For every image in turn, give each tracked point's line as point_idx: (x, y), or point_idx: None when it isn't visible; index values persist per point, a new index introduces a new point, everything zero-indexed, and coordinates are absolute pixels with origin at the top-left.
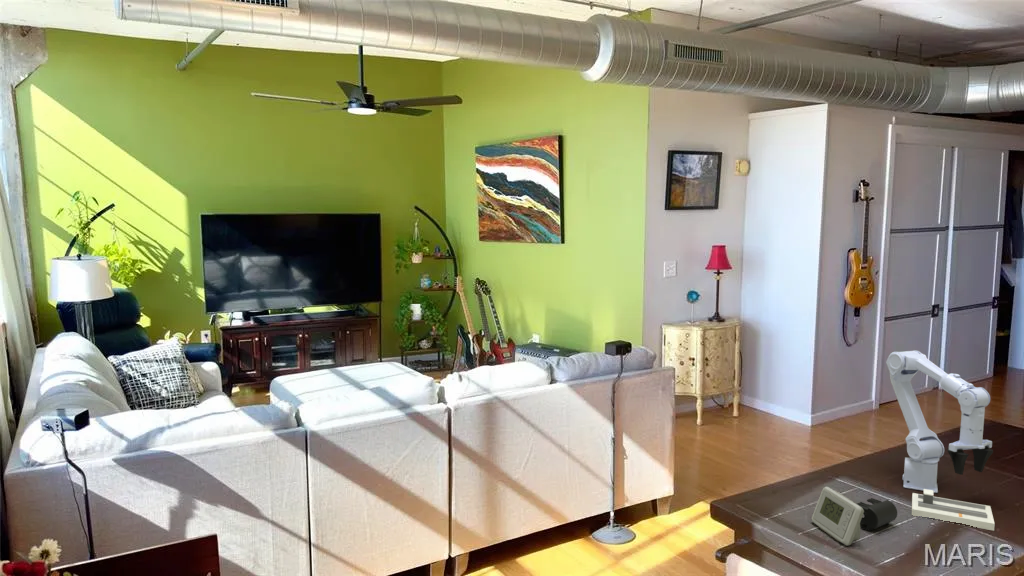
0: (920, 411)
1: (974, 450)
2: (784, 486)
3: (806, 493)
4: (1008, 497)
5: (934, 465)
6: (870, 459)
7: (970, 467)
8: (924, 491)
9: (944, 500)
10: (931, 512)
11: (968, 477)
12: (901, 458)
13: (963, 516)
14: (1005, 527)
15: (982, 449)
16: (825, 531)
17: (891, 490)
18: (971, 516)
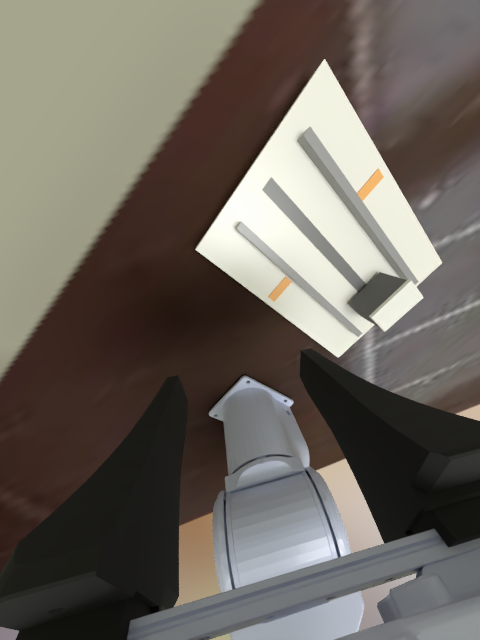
0: None
1: (172, 551)
2: (473, 400)
3: (476, 377)
4: (48, 347)
5: (259, 451)
6: None
7: (51, 492)
8: (405, 311)
9: (322, 297)
10: (422, 230)
11: (93, 451)
12: (181, 506)
13: (367, 174)
14: (238, 102)
15: (134, 588)
16: None
17: None
18: (341, 168)
